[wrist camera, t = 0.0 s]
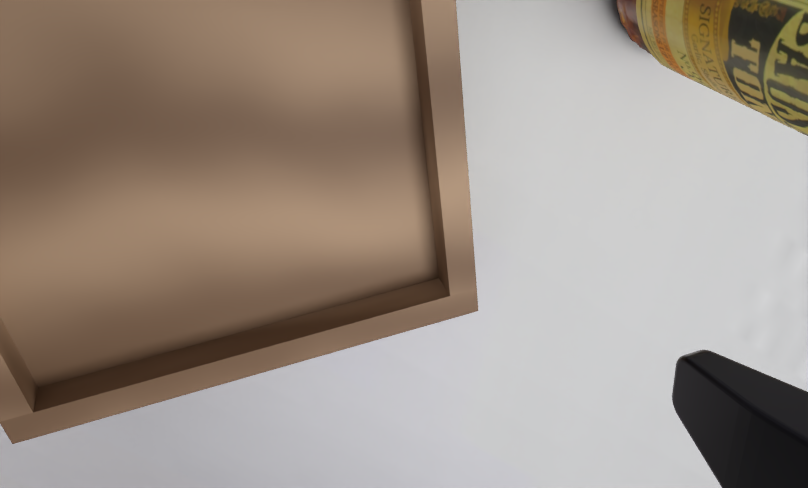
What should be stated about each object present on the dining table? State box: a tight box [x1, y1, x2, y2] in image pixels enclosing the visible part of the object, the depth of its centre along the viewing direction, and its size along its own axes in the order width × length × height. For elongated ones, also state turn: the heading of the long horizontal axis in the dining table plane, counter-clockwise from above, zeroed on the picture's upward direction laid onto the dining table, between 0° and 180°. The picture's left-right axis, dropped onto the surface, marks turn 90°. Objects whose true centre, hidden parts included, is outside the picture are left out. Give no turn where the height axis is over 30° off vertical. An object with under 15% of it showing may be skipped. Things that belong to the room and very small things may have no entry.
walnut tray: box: [0, 0, 478, 444], centre depth 21 cm, size 16×16×2 cm
